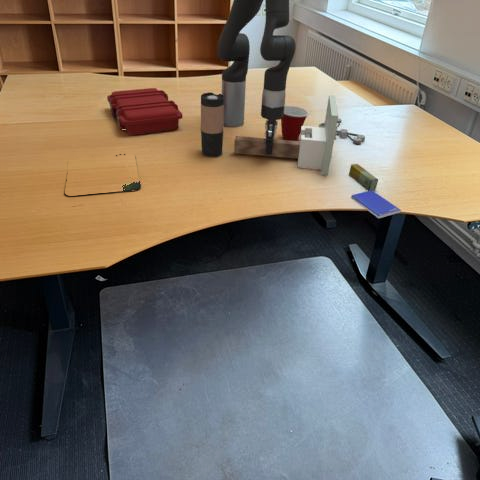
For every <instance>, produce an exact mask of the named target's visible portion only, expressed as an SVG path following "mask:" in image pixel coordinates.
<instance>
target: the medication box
mask: <svg viewBox="0 0 480 480" xmlns="http://www.w3.org/2000/svg"><path fill="white" fill-rule="evenodd" d="M348 176H349V177H351V178H352V179H353V180H355V182H357V184H359V185H361V186H362V188H364V189H365V190H366V191H371V190H372V191H374V192H375V191H376V189H377V186H378V182H379V179H378V178H377V177H376V176H374V175H373V174H371V172H369V171H368V170H366V169H365V168H364V167H362V166H361V165H359V164H358V163H353V164H350V168H349V173H348Z"/></svg>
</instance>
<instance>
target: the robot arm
mask: <svg viewBox="0 0 480 480" xmlns="http://www.w3.org/2000/svg"><path fill="white" fill-rule="evenodd" d="M264 1H265V4H264V5H265V23H264V29H263V30H264V31H263V33H262V34H263V35H262V39H261V44H260V48H259V53H260V56H261V58H262V59H263V60H264V61H267V62H275V61H276V62H278V61H279V63H278V64H277V65H275V66H272V67H268V68H266V69H265V71H264V76H263V78H264V79H263V87H262V88H263V89H262V93H261V94H262V95H261V108H260V116H261V118H262V119H265V123H264V124H265V126H264V129H265V133H264V137H265V138H266V142H265V143H266V154H268V155H271V154H272V148H273V144H274V142H273V140H274V139H275V138H276V133H277V130H278V120H280V121H281V119H282V118H283V116H284V107H285V106H286V105H285V104H286V93H287V92H286V87H287V78H288V73H289V70H290V66H291V65H292V62H293V59H294V57H295V55H296V54H295V53H296V50H297V49H296V48H297V46H296V41H295V39H294V37H293V36H291V35H285V34H284V35H274V31H275V30H278V29H281V28H285V27H286V26H288V25H289V24H290V0H233V1H232V4H231V5H232V6H231V8H230V11H229V14H228V16H227V20H226V22H225V24H224V26H223V29H222V32H221V33H220V36H219V39H218V41H217V56H218V58H219V59H220V60H221V61H222V62H225V63H226V62H228V63H229V62H233V63H232V64H231V65H230V66H228V67H226V68H225V69H224V70H223V71H222V73H221V94H222V95H223V96H224V126H225V127H230V128H233V127H234V128H237V127H241V126H243V125H244V124H245V109H246V108H245V107H246V103H245V102H246V90H247V89H246V85H247V75H248V70H249V61H250V50H251V48H250V40H249V38H248V36H247V34H245V33H243V32H241V31H242V30H243V29H244V28H245V27H246V26H247V25H248V24H249V23H250V22H251V21H252V20H253V19H254V18H255V17H256V16H257V14H258V13H259V12H260V10H261V7H262V5H263V3H264ZM268 140H271V141H268Z"/></svg>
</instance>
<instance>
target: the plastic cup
mask: <svg viewBox="0 0 480 480" xmlns="http://www.w3.org/2000/svg"><path fill="white" fill-rule="evenodd" d="M309 115H310V112H309V111H308V110H307V109H305V108H303V107H300V106H297V105H296V106H294V105H285V107H284V116H283V118H282V119H280V122H281V124H280V125H281V140H289V141H299V140H300V134H301V126H304V123H305V121H306V119H307V117H308V116H309Z"/></svg>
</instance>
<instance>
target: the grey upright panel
mask: <svg viewBox="0 0 480 480" xmlns="http://www.w3.org/2000/svg"><path fill="white" fill-rule="evenodd" d="M338 110H339V109H338V104H337V99H336V94H329V95H328V100H327V107H326V113H325V120H324V123H325V124H324V128H323V127H319V126H311V125H309V126H308V125H303V126H301V133H300V136H299V141H300V149H299V157H298V159H297V168H299V169H300V168H302V169H310V170H311V169H313V170H319V171H321V176H329V172H330V165H331V160H332V154H333V150H334V143H335V138H336V136H335V132H336V127H337V126H338V123H337V121H338V118H339V112H338ZM306 134H310V138H306Z"/></svg>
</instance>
